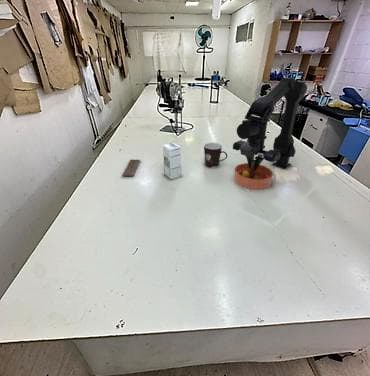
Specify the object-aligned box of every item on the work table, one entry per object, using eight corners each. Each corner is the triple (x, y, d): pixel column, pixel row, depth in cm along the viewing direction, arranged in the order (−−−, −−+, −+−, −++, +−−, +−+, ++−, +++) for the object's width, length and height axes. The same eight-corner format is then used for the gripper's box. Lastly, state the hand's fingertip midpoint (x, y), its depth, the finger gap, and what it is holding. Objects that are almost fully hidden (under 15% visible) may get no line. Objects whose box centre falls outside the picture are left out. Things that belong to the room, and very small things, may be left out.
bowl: (246, 169, 112) (247, 160, 110) (277, 182, 101) (279, 171, 99) (226, 180, 102) (227, 170, 100) (258, 195, 91) (260, 184, 89)
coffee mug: (199, 162, 118) (200, 144, 114) (214, 160, 121) (215, 141, 117) (211, 172, 108) (213, 152, 104) (227, 169, 112) (229, 149, 108)
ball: (244, 174, 106) (245, 168, 104) (250, 177, 104) (250, 171, 102) (240, 177, 104) (241, 171, 102) (246, 179, 102) (246, 173, 100)
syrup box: (181, 176, 105) (181, 146, 99) (170, 179, 102) (169, 148, 96) (174, 171, 109) (174, 142, 103) (163, 174, 106) (162, 144, 100)
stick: (250, 178, 102) (253, 159, 98) (254, 179, 100) (257, 160, 97) (247, 179, 101) (250, 160, 97) (252, 181, 99) (254, 161, 96)
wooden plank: (133, 174, 103) (122, 173, 103) (133, 177, 104) (122, 176, 104) (139, 159, 119) (130, 159, 118) (140, 161, 119) (130, 161, 119)
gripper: (226, 132, 93) (223, 167, 100) (269, 144, 81) (262, 184, 87) (242, 127, 100) (238, 160, 107) (284, 138, 88) (277, 174, 94)
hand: (252, 169), depth 99 cm, fingers closed on stick, 2 cm apart
